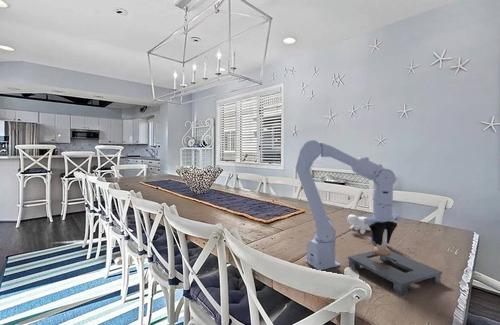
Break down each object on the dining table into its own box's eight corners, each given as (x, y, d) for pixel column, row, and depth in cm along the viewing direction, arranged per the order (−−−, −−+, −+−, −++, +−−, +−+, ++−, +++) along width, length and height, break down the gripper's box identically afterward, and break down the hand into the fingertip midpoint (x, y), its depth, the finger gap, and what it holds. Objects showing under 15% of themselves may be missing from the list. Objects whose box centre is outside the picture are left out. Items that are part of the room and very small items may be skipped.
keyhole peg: (382, 256, 84) (383, 232, 84) (370, 251, 89) (370, 228, 89) (393, 254, 86) (394, 230, 86) (380, 248, 91) (381, 226, 91)
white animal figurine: (361, 233, 135) (340, 225, 129) (366, 217, 136) (345, 209, 130) (374, 238, 127) (352, 230, 121) (379, 221, 128) (358, 213, 122)
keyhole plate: (401, 296, 72) (402, 284, 71) (347, 266, 90) (348, 256, 90) (441, 282, 79) (442, 271, 79) (384, 257, 97) (384, 248, 97)
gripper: (377, 208, 80) (376, 250, 81) (408, 204, 86) (407, 244, 87) (359, 203, 87) (358, 243, 87) (389, 200, 93) (388, 237, 93)
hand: (381, 243), depth 88 cm, fingers closed on keyhole peg, 3 cm apart
